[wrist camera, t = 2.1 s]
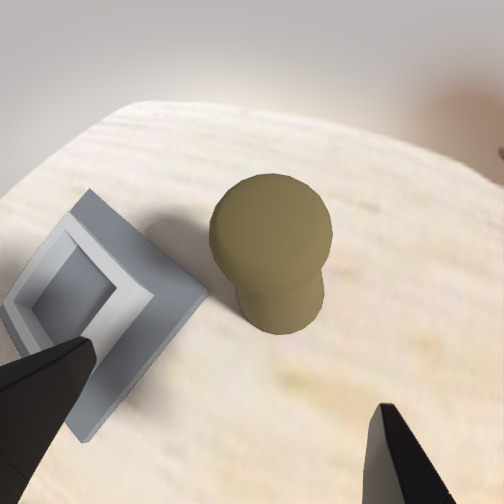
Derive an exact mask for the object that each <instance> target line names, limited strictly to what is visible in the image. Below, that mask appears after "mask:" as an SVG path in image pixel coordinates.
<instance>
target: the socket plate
mask: <svg viewBox="0 0 504 504" xmlns="http://www.w3.org/2000/svg"><path fill="white" fill-rule="evenodd" d="M209 294H210V291H209V290H208V289H207V288H206V287H205V286H203V285H202V284H201V283H200V282H199V281H197V280H196V279H195V278H194V277H192V276H191V275H190V274H189V273H187V272H186V271H185V270H184V269H182V268H181V267H180V266H179V265H178V264H176V263H175V262H174V261H173V260H172V259H170V258H169V257H168V256H167V255H166V254H164V253H163V252H162V251H161V250H160V249H158V248H157V247H156V246H155V245H154V244H152V243H151V242H150V241H149V240H148V239H147V238H145V237H144V236H143V235H142V234H141V233H140V232H138V231H137V230H136V229H135V228H134V227H133V226H131V225H130V224H129V223H128V222H127V221H126V220H125V219H123V218H122V217H121V216H120V215H119V214H118V213H117V212H115V211H114V210H113V209H112V208H111V207H110V206H109V205H108V204H106V203H105V202H104V201H103V200H102V199H101V198H100V197H99V196H98V195H96V194H95V193H94V192H93V191H92V190H91V189H90V188H89V190H88V191H87V192H86V193H85V194H84V195H83V196H82V198H81V199H80V200H79V201H78V202H77V203H76V204H75V206H74V207H73V208H72V209H71V210H70V212H69V211H68V212H67V213H66V214H65V215H64V217H63V218H62V219H61V220H60V222H59V223H58V224H57V225H56V227H55V228H54V229H53V230H52V232H51V233H50V234H49V236H48V237H47V238H46V239H45V241H44V242H43V243H42V245H41V246H40V247H39V249H38V250H37V252H36V253H35V254H34V256H33V257H32V258H31V260H30V261H29V263H28V264H27V266H26V267H25V268H24V270H23V271H22V273H21V274H20V276H19V277H18V279H17V280H16V282H15V283H14V285H13V286H12V288H11V289H10V291H9V293H8V294H7V296H6V297H5V299H4V301H3V302H2V303H3V305H2V306H1V308H0V317H1V319H2V321H3V323H4V325H5V327H6V329H7V331H8V333H9V335H10V337H11V339H12V341H13V342H14V344H15V346H16V348H17V350H18V352H19V353H20V355H21V357H22V358H24V357H26V356H29V355H32V354H34V353H37V352H40V351H42V350H45V349H47V348H50V347H53V346H55V345H58V344H60V343H63V342H66V341H68V340H71V339H73V338H76V337H78V336H83V337H86V338H89V339H90V340H91V341H92V343H93V346H94V349H95V352H96V356H97V363H96V365H95V367H94V369H93V371H92V373H91V375H90V377H89V379H88V381H87V383H86V385H85V387H84V389H83V391H82V393H81V395H80V397H79V398H78V400H77V402H76V403H75V405H74V407H73V408H72V410H71V411H70V413H69V415H68V416H67V418H66V419H65V421H64V422H65V423H66V425H67V426H68V427H69V428H70V430H71V431H72V432H73V434H74V435H75V436H76V437H77V439H78V440H79V441H80V442H81V443H86V442H89V441H90V440H91V438H92V437H93V436H94V435H95V433H96V432H97V431H98V430H99V428H100V427H101V426H102V425H103V423H104V422H105V421H106V420H107V419H108V417H109V416H110V415H111V414H112V412H113V411H114V410H115V409H116V407H117V406H118V405H119V404H120V402H121V401H122V400H123V399H124V398H125V396H126V395H127V394H128V393H129V391H130V390H131V389H132V388H133V386H134V385H135V384H136V383H137V382H138V380H139V379H140V378H141V377H142V375H143V374H144V373H145V372H146V370H147V369H148V368H149V367H150V366H151V364H152V363H153V362H154V361H155V359H156V358H157V357H158V356H159V355H160V353H161V352H162V351H163V350H164V348H165V347H166V346H167V345H168V344H169V342H170V341H171V340H172V339H173V337H174V336H175V335H176V334H177V333H178V331H179V330H180V329H181V328H182V326H183V325H184V324H185V323H186V322H187V320H188V319H189V318H190V317H191V315H192V314H193V313H194V312H195V311H196V309H197V308H198V307H199V306H200V304H201V303H202V302H203V301H204V300H205V298H206V297H207V296H208V295H209Z"/></svg>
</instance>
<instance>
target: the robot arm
mask: <svg viewBox="0 0 504 504" xmlns="http://www.w3.org/2000/svg"><path fill="white" fill-rule="evenodd" d="M96 363H97V356H96V352H95V349H94V346H93V343H92V341H91V340H90V339H89V338H86V337H83V336H78V337H76V338H73V339H71V340H68V341H66V342H63V343H60V344H58V345H55V346H53V347H50V348H47V349H45V350H42V351H40V352H37V353H34V354H32V355H29V356H26V357H24V358H21V359H18V360H16V361H13V362H11V363H8V364H5V365H3V366H0V504H18V502H19V500H20V498H21V496H22V494H23V492H24V490H25V489H26V487H27V485H28V483H29V481H30V479H31V477H32V476H33V474H34V472H35V470H36V468H37V467H38V465H39V463H40V461H41V460H42V458H43V456H44V454H45V453H46V451H47V449H48V448H49V446H50V444H51V443H52V441H53V439H54V437H55V436H56V434H57V432H58V431H59V429H60V428H61V426H62V424H63V423H64V421H65V419H66V418H67V416H68V415H69V413H70V411H71V410H72V408H73V407H74V405H75V403H76V402H77V400H78V398H79V397H80V395H81V393H82V391H83V389H84V387H85V385H86V383H87V381H88V379H89V377H90V375H91V373H92V371H93V369H94V367H95V365H96ZM448 493H449V491H448V489H447V487H446V486H445V484H444V482H443V481H442V479H441V477H440V476H439V474H438V473H437V471H436V469H435V468H434V466H433V465H432V463H431V461H430V460H429V458H428V457H427V455H426V453H425V452H424V450H423V449H422V447H421V445H420V444H419V442H418V441H417V439H416V438H415V436H414V434H413V433H412V431H411V430H410V428H409V427H408V425H407V423H406V422H405V420H404V419H403V417H402V416H401V414H400V413H399V411H398V410H397V408H396V407H395V405H394V404H392V403H380V404H379V405H378V406H377V408H376V410H375V412H374V414H373V416H372V418H371V420H370V424H369V430H368V439H367V448H366V456H365V463H364V471H363V497H362V504H456V502H455V500H454V499H453V497H452V495H451V494H450V493H449V494H448Z"/></svg>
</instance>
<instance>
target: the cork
mask: <svg viewBox="0 0 504 504" xmlns="http://www.w3.org/2000/svg"><path fill="white" fill-rule="evenodd" d="M332 237H333V232H332V225H331V219H330V215H329V212H328V210H327V208H326V206H325V204H324V203H323V201H322V199H321V197H320V196H319V195H318V194H317V193H316V192H315V191H314V190H312V189H311V188H310V187H309V186H308V185H307V184H305V183H303V182H301V181H299V180H296V179H294V178H292V177H290V176H286V175H280V174H274V173H272V174H262V175H256V176H253V177H250V178H247V179H245V180H242V181H240V182H239V183H238V184H236V185H235V186H233V187H232V188H231V189H229V190H228V191H227V192H226V194H225V195H224V196H223V197H222V199H221V200H220V201H219V202H218V204H217V205H216V207H215V209H214V212H213V215H212V217H211V220H210V230H209V244H210V248H211V251H212V254H213V257H214V260H215V262H216V264H217V265H218V266H219V268H220V269H221V270H222V271H223V273H224V274H225V275H226V276H227V278H228V279H229V280H230V281H232V282H233V283H235V284H236V290H237V295H238V301H239V304H240V307H241V310H242V312H243V314H244V316H245V317H246V318H247V319H248V321H249V322H250V323H251V324H252V325H254V326H255V327H257V328H258V329H260V330H261V331H263V332H267V333H271V334H275V335H282V334H292V333H294V332H297V331H299V330H302V329H304V328H305V327H306V326H307V325H309V324H310V323H311V322H312V321H313V320H314V319H315V318H316V316H317V315H318V313H319V311H320V310H321V308H322V304H323V299H324V285H323V278H322V272H321V268H322V267H323V265H324V263H325V262H326V260H327V258H328V255H329V252H330V247H331V242H332Z"/></svg>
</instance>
